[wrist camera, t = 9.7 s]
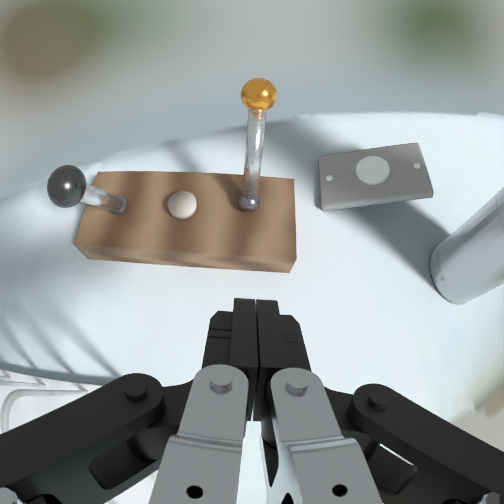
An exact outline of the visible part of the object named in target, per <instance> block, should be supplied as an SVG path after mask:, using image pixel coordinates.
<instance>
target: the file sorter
mask: <svg viewBox="0 0 504 504" xmlns="http://www.w3.org/2000/svg"><path fill="white" fill-rule="evenodd" d="M100 387H102V385H93V384H84V383H76V382H68V381H61V380H55V379H49V378H43V377H37V376H32V375H27V374H22V373H17V372H12V371H8V370H4V369H0V434H2V433H4V432H7V431H9V430H11V429H13V428H16V427H18V426H20V425H22V424H25V423H27V422H29V421H31V420H33V419H36V418H38V417H40V416H42V415H44V414H46V413H49V412H51V411H53V410H55V409H57V408H59V407H61V406H63V405H65V404H68V403H70V402H72V401H74V400H76V399H78V398H80V397H82V396H84V395H86V394H88V393H90V392H92V391H94V390H96V389H98V388H100ZM156 477H157V476H156V471H155V472H154V473H152V474H151V475H149V476H148V477H146V478H145V479H143V480H142V481H140V482H138V483H137V484H135V485H134V486H132V487H131V488H129V489H128V490H126V491H124V492H123V493H121V494H120V495H118V496H116V497H115V498H113V499H111V500H110V501H108V502H106V503H104V504H148V503H149V500H150V497H151V494H152V490H153V487H154V484H155V480H156Z"/></svg>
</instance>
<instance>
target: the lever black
mask: <svg viewBox="0 0 504 504" xmlns="http://www.w3.org/2000/svg"><path fill="white" fill-rule="evenodd" d="M47 192H48V196H49V198H50V200H51V201H52V202H53V203H54V204H55V205H57V206H59V207H62V208H69V207H72V206H74V205H76V204H77V203H79V202H83V203H87V204H90V205H94V206H97V207H101V208H104V209H108V210H111V212H112V213H113V214H115V215H122V214H124V213H125V212H126V211H127V210H128V207H129V202H128V200H127V198H126V197H125V196H123V195H113V194H111V193H109V192H106V191H104V190H102V189H99V188H97V187H94V186H92V185H90V184H87V183H86V179H85V176H84V174H83V173H82V171H81V170H80V169H78V168H77V167H75V166H71V165H65V166H61V167H59V168H57V169H56V170H55V171H54V172H53V173H52V174H51V176H50V178H49V180H48V184H47Z"/></svg>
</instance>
